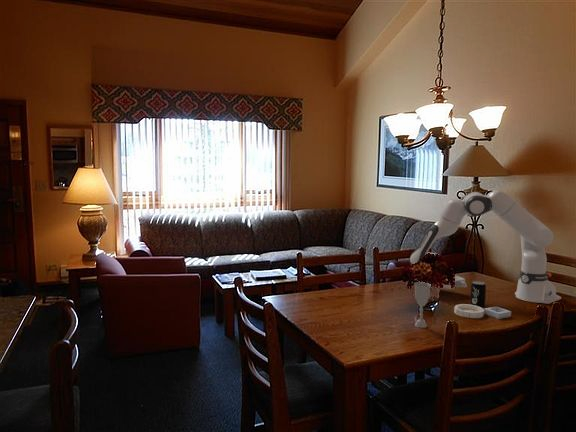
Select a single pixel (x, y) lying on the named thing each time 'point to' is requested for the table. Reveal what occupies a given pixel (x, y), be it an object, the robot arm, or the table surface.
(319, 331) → the table surface
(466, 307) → the round collar
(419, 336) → the table surface
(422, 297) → the chalice
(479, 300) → the beverage can
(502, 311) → the square holder
